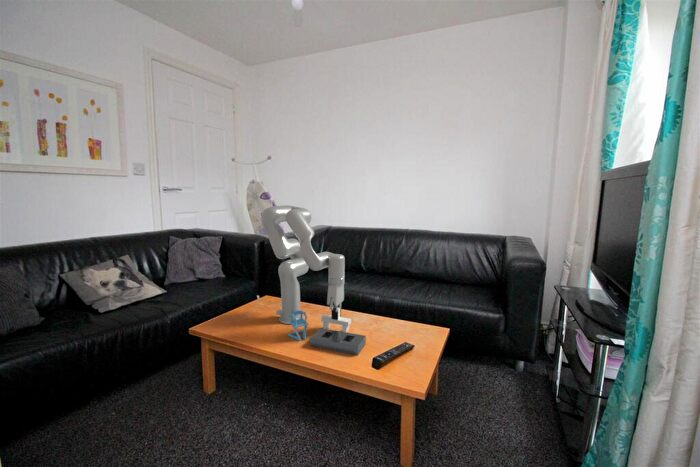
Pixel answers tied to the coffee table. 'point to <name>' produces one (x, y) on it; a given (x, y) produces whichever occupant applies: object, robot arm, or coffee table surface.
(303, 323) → the chair
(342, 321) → the white stepped block
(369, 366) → the coffee table surface
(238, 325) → the coffee table surface
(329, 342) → the slotted plate
